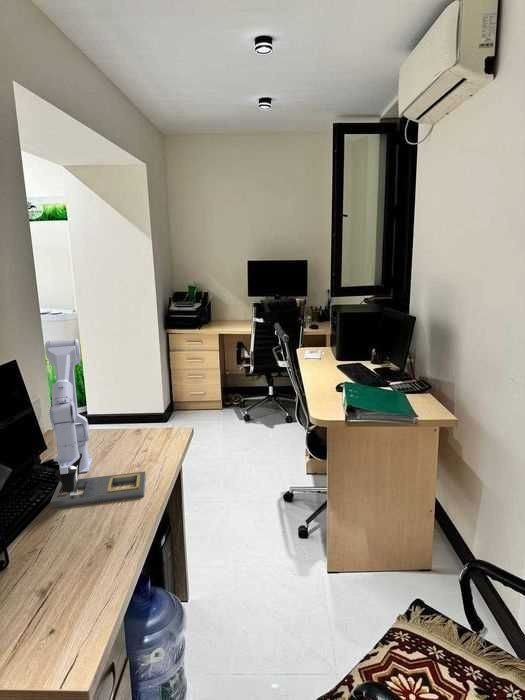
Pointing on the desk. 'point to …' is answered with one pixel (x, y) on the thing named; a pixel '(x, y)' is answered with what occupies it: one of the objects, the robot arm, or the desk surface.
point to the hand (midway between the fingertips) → (72, 484)
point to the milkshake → (75, 491)
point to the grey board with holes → (101, 490)
